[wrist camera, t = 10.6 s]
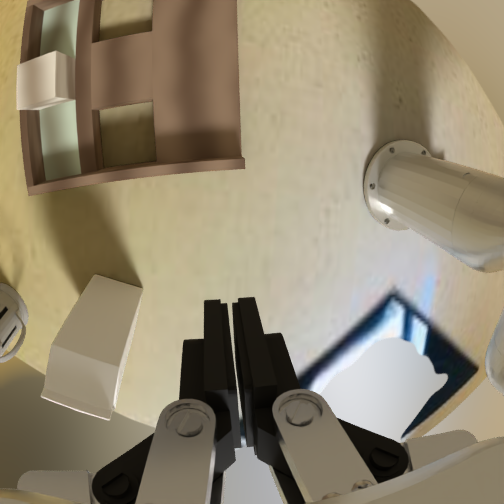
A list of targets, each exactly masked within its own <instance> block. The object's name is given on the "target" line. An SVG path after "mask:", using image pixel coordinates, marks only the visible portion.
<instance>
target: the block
mask: <svg viewBox="0 0 504 504" xmlns="http://www.w3.org/2000/svg"><path fill="white" fill-rule="evenodd" d="M73 100H75V59H74V58H72V57H70V56H68V55H65V54H63V53H61V52H58V51H54V52H51V53H48V54H45V55H42V56H40V57H37V58H34V59H32V60H29V61H27V62H24V63H22V64H19V65H17V110H41V109H44V108H47V107H51V106H54V105H58V104H61V103H65V102H69V101H73Z"/></svg>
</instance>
